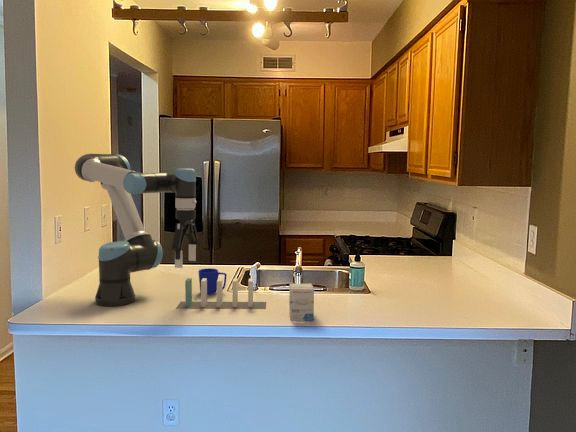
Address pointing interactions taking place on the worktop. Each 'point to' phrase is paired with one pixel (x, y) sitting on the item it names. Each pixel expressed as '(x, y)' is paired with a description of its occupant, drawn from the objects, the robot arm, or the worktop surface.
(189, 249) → the robot arm
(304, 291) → the ink box
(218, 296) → the domino
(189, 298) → the green domino
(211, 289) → the mug
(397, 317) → the worktop surface
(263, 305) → the mat
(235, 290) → the domino
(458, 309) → the worktop surface
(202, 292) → the domino
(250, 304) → the domino
